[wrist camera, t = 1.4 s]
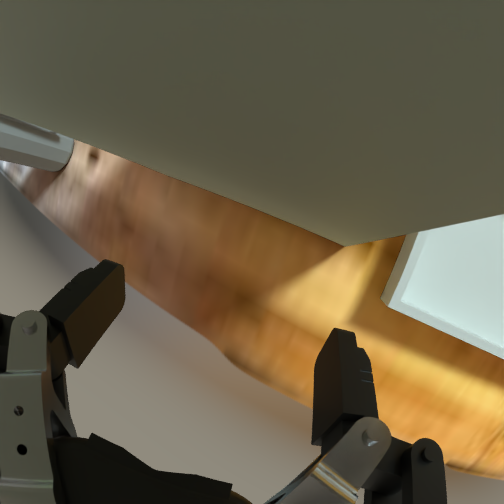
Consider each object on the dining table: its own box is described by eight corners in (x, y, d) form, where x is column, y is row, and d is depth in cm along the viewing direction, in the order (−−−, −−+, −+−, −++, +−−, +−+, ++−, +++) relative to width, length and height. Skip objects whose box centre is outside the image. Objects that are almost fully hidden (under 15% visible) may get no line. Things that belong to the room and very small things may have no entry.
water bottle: (49, 181, 37) (-84, 157, 13) (51, 138, 37) (-69, 102, 13) (84, 161, 34) (-71, 119, 10) (86, 114, 35) (-48, 59, 10)
